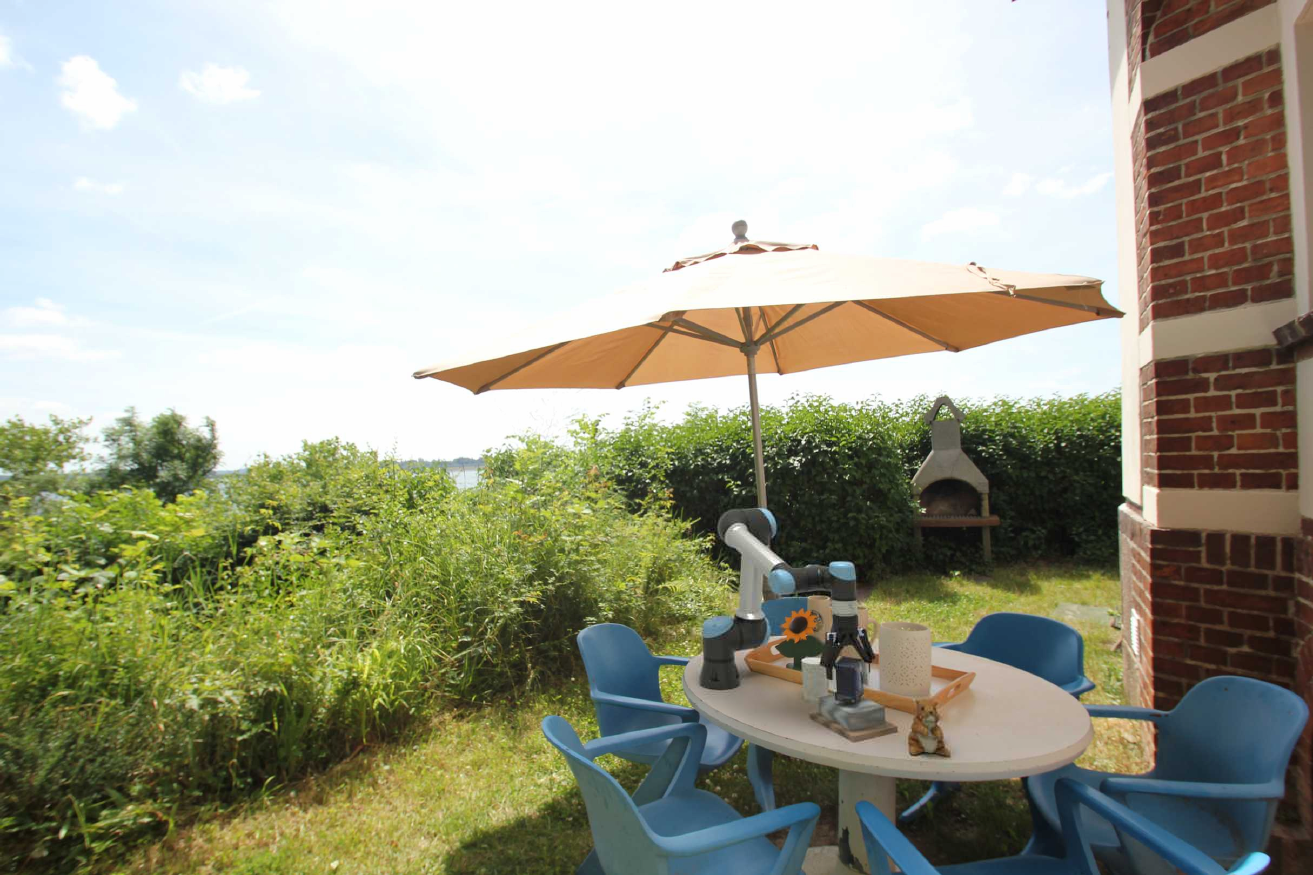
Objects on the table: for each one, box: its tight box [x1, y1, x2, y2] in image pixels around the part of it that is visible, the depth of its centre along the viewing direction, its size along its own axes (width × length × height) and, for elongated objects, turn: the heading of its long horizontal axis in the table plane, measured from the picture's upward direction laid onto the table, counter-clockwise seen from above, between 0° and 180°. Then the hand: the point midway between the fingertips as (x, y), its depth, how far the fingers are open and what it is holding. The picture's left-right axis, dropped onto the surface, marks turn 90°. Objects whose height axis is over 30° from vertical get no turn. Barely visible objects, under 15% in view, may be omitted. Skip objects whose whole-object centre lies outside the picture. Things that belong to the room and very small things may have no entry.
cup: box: [801, 657, 829, 702], centre depth 197 cm, size 8×8×12 cm
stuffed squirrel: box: [907, 697, 951, 757], centre depth 157 cm, size 10×14×13 cm
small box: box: [833, 656, 865, 704], centre depth 174 cm, size 11×6×10 cm, turn 148°
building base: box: [808, 693, 899, 743], centre depth 173 cm, size 20×16×6 cm
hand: (849, 687), depth 174 cm, fingers closed on small box, 12 cm apart
